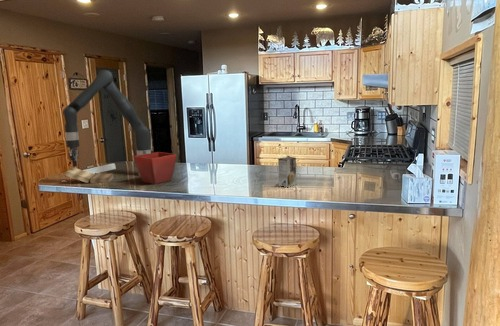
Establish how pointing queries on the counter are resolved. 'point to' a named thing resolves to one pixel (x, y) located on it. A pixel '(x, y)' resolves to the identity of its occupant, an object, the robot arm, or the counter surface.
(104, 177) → the wooden block
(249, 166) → the counter surface
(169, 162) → the plant pot
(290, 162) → the coffee box
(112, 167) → the decorative molding
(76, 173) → the oak plank
